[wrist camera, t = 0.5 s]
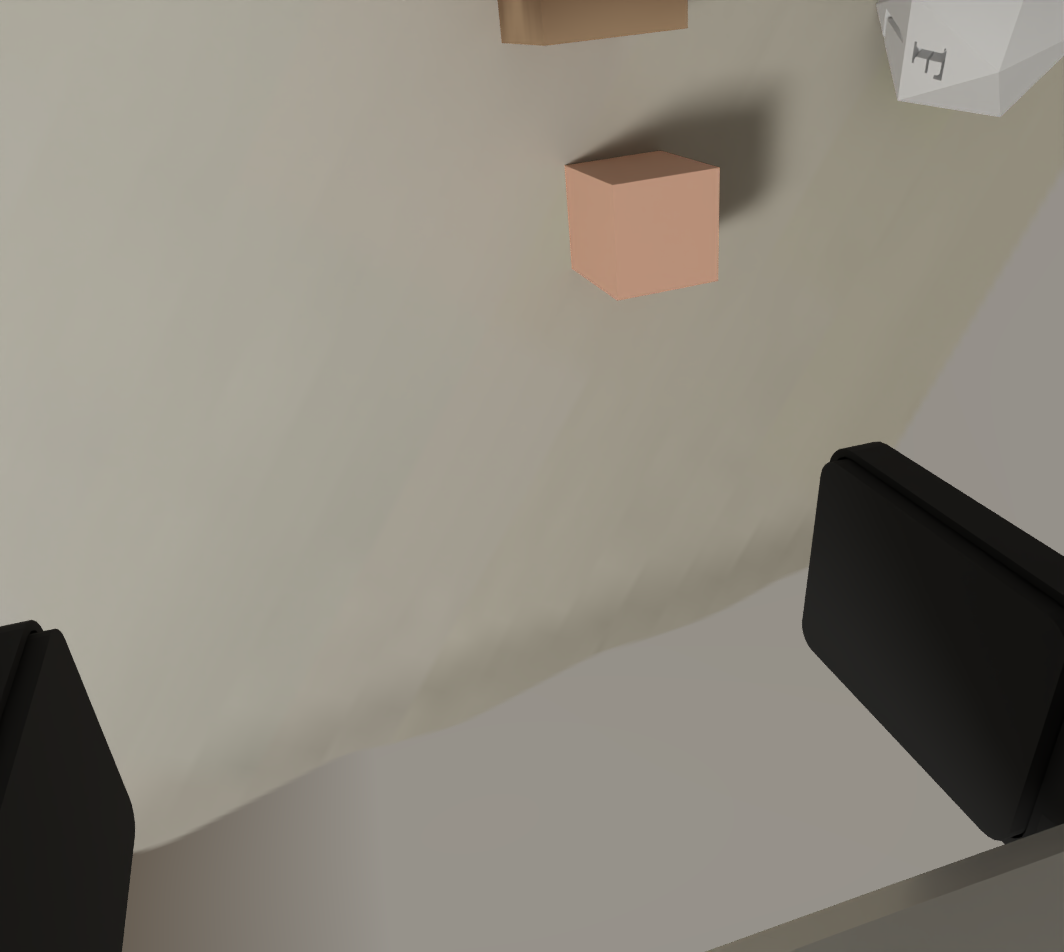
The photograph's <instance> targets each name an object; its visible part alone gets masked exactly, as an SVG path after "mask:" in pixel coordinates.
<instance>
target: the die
mask: <svg viewBox="0 0 1064 952" xmlns="http://www.w3.org/2000/svg"><path fill="white" fill-rule="evenodd" d="M876 7H877V11H878V16H879V20H880V25H881V29H882V34H883V36H884V37H885V40H884V42H885V47H886V51H887V56H888V60H889V65H890V69H891V73H892V78H893V82H894V87H895V91H896V96H897V100H898V101H903V102H910V103H916V104H922V105H928V106H934V107H941V108H947V109H953V110H959V111H965V112H972V113H978V114H984V115H990V116H997V117H1001V116H1002V115H1003V114H1004V113H1005V112H1006V111H1007V110H1008V109H1009V108H1010V107H1011V106H1012V105H1013V104H1014V103H1015V102H1016V101H1017V100H1018V99H1019V98H1020V97H1022V96H1023V95H1024V94H1025V93H1026V92H1027V91H1028V90H1029V89H1030V88H1031V87H1032V86H1033V85H1034V84H1035V83H1036V82H1037V81H1038V80H1039V79H1040V78H1041V77H1042V76H1043V75H1044V74H1045V73H1046V72H1047V71H1048V70H1049V69H1051V68H1052V67H1053V66H1054V65H1055V64H1056V63H1057V62H1058V61H1059V60H1060V59H1061V58H1062V57H1063V56H1064V0H879V1H878V2H877V4H876Z"/></svg>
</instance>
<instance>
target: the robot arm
mask: <svg viewBox="0 0 1064 952" xmlns="http://www.w3.org/2000/svg"><path fill="white" fill-rule="evenodd" d="M802 628H803V634H804V637H805V640H806V642H807V644H808V646H809V647H810V648H811V650H812V651H813V652H814V653H815V654H816V655H817V656H818V657H819V658H820V659H821V660H822V662H823V663H824V664H825V665H826V666H827V667H828V668H829V669H830V670H831V671H832V672H833V673H834V674H835V675H836V676H837V677H838V679H839V680H840V681H841V682H842V683H843V684H844V685H845V686H846V687H847V688H848V689H849V690H850V691H851V692H852V693H853V694H854V696H855V697H856V698H857V699H858V700H859V701H860V702H861V703H862V704H863V705H864V706H865V707H866V708H867V709H868V710H869V712H870V713H871V714H872V715H873V716H874V717H875V718H876V719H877V720H878V721H879V722H880V723H881V724H882V725H883V726H884V727H885V729H886V730H887V731H888V732H889V733H890V734H891V735H892V736H893V737H894V738H895V739H896V740H897V741H898V742H899V743H900V745H901V746H902V747H903V748H904V749H905V750H906V751H907V752H908V753H909V754H910V755H911V756H912V757H913V758H914V759H915V760H916V761H917V763H918V764H919V765H920V766H922V768H923V769H924V770H925V771H926V772H927V773H928V774H929V775H930V776H931V777H932V779H934V781H935V782H936V783H937V784H938V785H939V786H940V787H941V788H942V789H943V790H944V791H945V792H946V793H947V795H948V796H949V797H951V799H952V800H953V801H954V802H955V803H956V804H957V805H958V806H959V807H960V808H961V809H962V810H963V811H964V813H965V814H966V815H967V816H968V817H969V818H970V819H971V820H972V821H973V822H974V823H975V824H976V825H977V826H978V827H979V829H980V830H981V831H982V832H984V833H985V834H986V835H987V836H988V837H990V838H992V839H994V840H999V841H1002V842H1003V843H1004V844H1005V845H1002V846H999V847H996V848H994V849H991V850H988V851H985V852H982V853H980V854H977V855H974V856H971V857H968V858H965V859H963V860H960V861H957V862H954V863H951V864H949V865H946V866H943V867H940V868H937V869H934V870H932V871H929V872H926V873H923V874H920V875H917V876H915V877H912V878H909V879H906V880H903V881H901V882H898V883H895V884H892V885H889V886H886V887H884V888H881V889H878V890H876V891H873V892H870V893H867V894H864V895H861V896H859V897H856V898H853V899H850V900H848V901H845V902H842V903H839V904H837V905H834V906H831V907H828V908H826V909H823V910H820V911H817V912H814V913H812V914H809V915H806V916H803V917H800V918H798V919H795V920H792V921H789V922H787V923H784V924H781V925H778V926H775V927H773V928H770V929H767V930H764V931H762V932H759V933H756V934H753V935H750V936H748V937H745V938H742V939H739V940H737V941H734V942H731V943H729V944H725V945H723V946H720V947H717V948H714V949H712V950H709V951H706V952H1064V556H1062V555H1060V554H1059V553H1058V552H1056V551H1054V550H1053V549H1051V548H1050V547H1048V546H1046V545H1045V544H1043V543H1042V542H1040V541H1038V540H1037V539H1035V538H1034V537H1032V536H1030V535H1029V534H1027V533H1026V532H1024V531H1023V530H1021V529H1019V528H1018V527H1016V526H1015V525H1013V524H1012V523H1010V522H1008V521H1007V520H1005V519H1004V518H1002V517H1000V516H999V515H997V514H996V513H994V512H993V511H991V510H989V509H988V508H986V507H985V506H983V505H982V504H980V503H978V502H977V501H975V500H974V499H972V498H970V497H969V496H967V495H966V494H964V493H963V492H961V491H959V490H958V489H956V488H955V487H953V486H952V485H950V484H948V483H947V482H945V481H943V480H942V479H940V478H939V477H937V476H936V475H934V474H932V473H931V472H929V471H928V470H926V469H925V468H923V467H921V466H920V465H918V464H917V463H915V462H914V461H912V460H910V459H909V458H907V457H905V456H904V455H902V454H901V453H899V452H898V451H896V450H895V449H893V448H891V447H890V446H888V445H887V444H884V443H882V442H871V443H867V444H862V445H857V446H852V447H848V448H843V449H839V450H838V451H836V452H834V454H833V456H832V457H831V459H830V462H829V463H827V464H826V465H825V466H824V467H823V469H822V472H821V477H820V485H819V493H818V501H817V509H816V517H815V525H814V533H813V540H812V548H811V556H810V564H809V572H808V580H807V588H806V596H805V604H804V612H803V619H802ZM134 838H135V821H134V813H133V808H132V804H131V801H130V798H129V796H128V793H127V791H126V789H125V786H124V784H123V781H122V779H121V776H120V774H119V771H118V769H117V766H116V764H115V761H114V759H113V756H112V754H111V751H110V749H109V747H108V744H107V742H106V739H105V737H104V734H103V732H102V729H101V727H100V724H99V722H98V719H97V717H96V714H95V712H94V709H93V707H92V705H91V702H90V700H89V697H88V695H87V692H86V690H85V687H84V685H83V682H82V680H81V677H80V675H79V672H78V670H77V667H76V665H75V663H74V660H73V658H72V655H71V653H70V650H69V648H68V645H67V643H66V640H65V638H64V636H63V634H62V633H61V632H60V631H59V630H58V629H52V630H47V631H43V630H42V628H41V626H40V625H39V624H38V623H37V622H36V621H33V620H29V621H24V622H20V623H15V624H10V625H5V626H1V627H0V952H122V945H123V944H122V943H123V936H124V927H125V918H126V909H127V900H128V892H129V883H130V874H131V865H132V856H133V847H134Z"/></svg>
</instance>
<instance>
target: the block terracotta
mask: <svg viewBox="0 0 1064 952" xmlns="http://www.w3.org/2000/svg"><path fill="white" fill-rule="evenodd" d="M565 177H566V192H567V206H568V220H569V234H570V248H571V262H572V269H573V270H575V271H576V272H578V273H579V274H580V275H582V276H583V277H585V278H586V279H588V280H589V281H590V282H592V283H593V284H595V285H596V286H598V287H599V288H600V289H602V290H603V291H605V292H606V293H607V294H609V295H610V296H612V297H613V298H615V299H616V300H617V301H618V300H623V299H628V298H633V297H638V296H643V295H649V294H654V293H659V292H664V291H669V290H674V289H679V288H684V287H689V286H694V285H699V284H704V283H710V282H715V281H718V250H719V185H720V167H716V166H713V165H709V164H706V163H702V162H699V161H695V160H692V159H688V158H685V157H681V156H678V155H675V154H671V153H668V152H664V151H661V150H660V151H653V152H647V153H641V154H634V155H628V156H621V157H615V158H609V159H602V160H596V161H589V162H583V163H577V164H570V165H565Z"/></svg>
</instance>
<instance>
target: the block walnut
mask: <svg viewBox="0 0 1064 952" xmlns="http://www.w3.org/2000/svg"><path fill="white" fill-rule="evenodd" d="M498 8H499V18H500V28H501V39H502V43H512V44H527V45H542V46H546V45H554V44H562V43H570V42H579V41H587V40H595V39H603V38H611V37H619V36H628V35H636V34H644V33H652V32H660V31H668V30H677V29H685V28H688V0H498Z"/></svg>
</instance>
